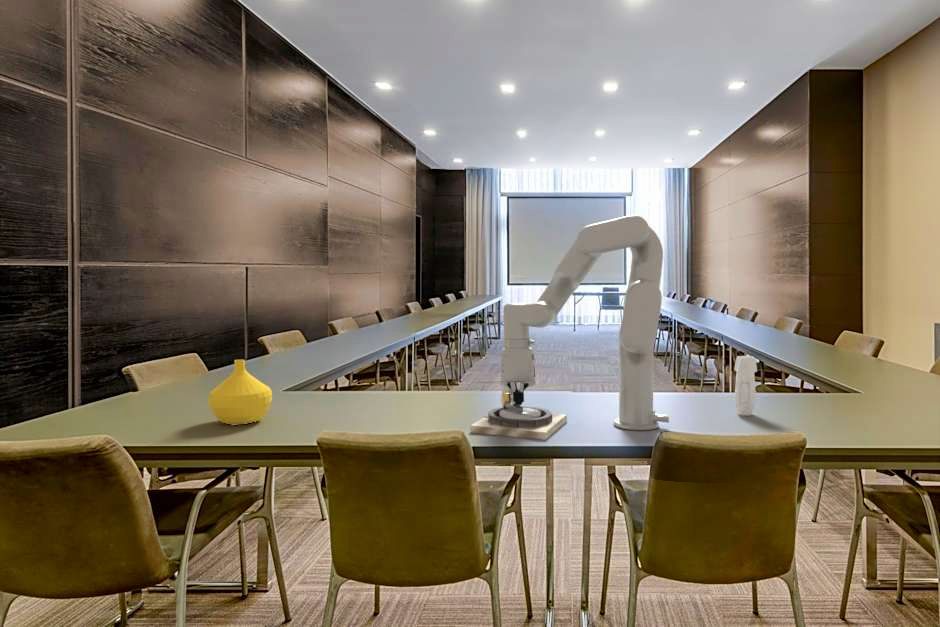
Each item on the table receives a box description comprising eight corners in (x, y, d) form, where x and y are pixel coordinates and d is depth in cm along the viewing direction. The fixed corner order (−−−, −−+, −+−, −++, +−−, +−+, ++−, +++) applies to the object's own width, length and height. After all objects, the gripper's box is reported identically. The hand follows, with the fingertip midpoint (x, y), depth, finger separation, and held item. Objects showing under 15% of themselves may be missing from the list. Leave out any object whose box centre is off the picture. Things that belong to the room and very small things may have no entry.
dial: (548, 421, 180) (548, 400, 179) (511, 425, 175) (511, 404, 174) (522, 410, 194) (522, 390, 193) (487, 414, 189) (487, 394, 189)
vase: (202, 430, 183) (199, 365, 182) (217, 416, 201) (215, 357, 200) (268, 427, 186) (265, 363, 184) (277, 413, 204) (275, 355, 202)
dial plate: (566, 421, 188) (566, 408, 188) (545, 439, 168) (545, 425, 168) (497, 415, 197) (497, 402, 197) (469, 432, 177) (469, 418, 177)
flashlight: (733, 411, 199) (732, 415, 193) (734, 354, 198) (733, 357, 192) (756, 412, 197) (756, 417, 190) (757, 355, 195) (757, 358, 189)
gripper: (543, 342, 190) (545, 402, 191) (495, 342, 194) (497, 401, 196) (539, 345, 183) (541, 407, 184) (489, 345, 187) (491, 406, 188)
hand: (518, 404), depth 190 cm, fingers closed
